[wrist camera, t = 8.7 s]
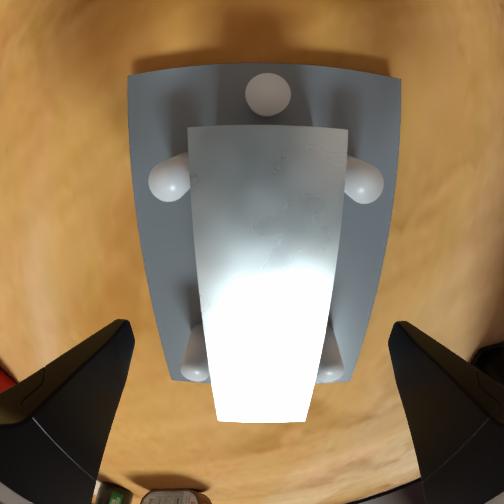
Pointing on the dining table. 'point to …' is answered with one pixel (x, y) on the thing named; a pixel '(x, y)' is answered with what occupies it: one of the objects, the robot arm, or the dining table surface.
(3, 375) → the red tomato
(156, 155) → the grey pegged platform
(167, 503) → the tin
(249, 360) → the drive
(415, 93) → the dining table surface
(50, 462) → the robot arm
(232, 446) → the dining table surface
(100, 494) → the supplement bottle
